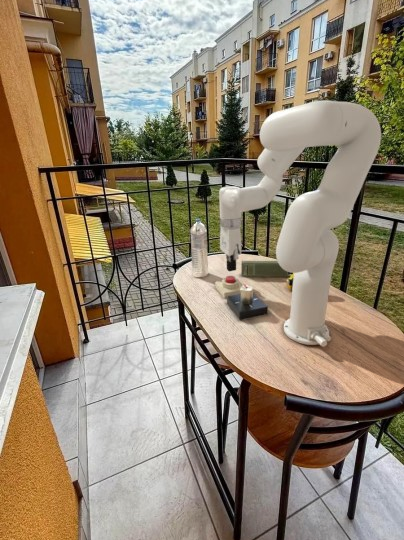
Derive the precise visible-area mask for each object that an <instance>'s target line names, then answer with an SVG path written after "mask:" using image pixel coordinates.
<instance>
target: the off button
mask: <svg viewBox="0 0 404 540" xmlns="http://www.w3.org/2000/svg"><path fill="white" fill-rule="evenodd" d="M225 278H226V283H235V278H236V276H235V275H227V276H226V277H225Z"/></svg>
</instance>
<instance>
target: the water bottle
mask: <svg viewBox="0 0 404 540" xmlns="http://www.w3.org/2000/svg"><path fill="white" fill-rule="evenodd" d="M189 233H190V245H191V247H190V251H191V269H192V272H191V273H192V275H193V277H195V278H205V277H207V276H208V275H209V266H208V265H209V264H208V262H209V260H208V259H209V258H208V239H207V238H208V236H207V227H206V226H205V225H204V224H203V223H202V222H201V218H195V223H194V224H192V225H191V227H190V229H189Z"/></svg>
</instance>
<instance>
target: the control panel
mask: <svg viewBox="0 0 404 540" xmlns="http://www.w3.org/2000/svg"><path fill="white" fill-rule="evenodd" d="M226 305H227V306H228V307H229V308H230V310H231V311H232V313H233V314H234V315H235V317H236V318H237V319H238V321H243V320H247V319H252V318H257V317H258V318H259V317H261V316H267V315H268V309H269V307H268V305H267V304H266V303H265V302H264V301H263V300H262V299H261V298H260V297H259V296H258V295H257V294H256V293H255V292H254V291H253V302H252V303H251V304H243V303H242V302H241V294H237V295H231V296H227V298H226Z"/></svg>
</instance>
